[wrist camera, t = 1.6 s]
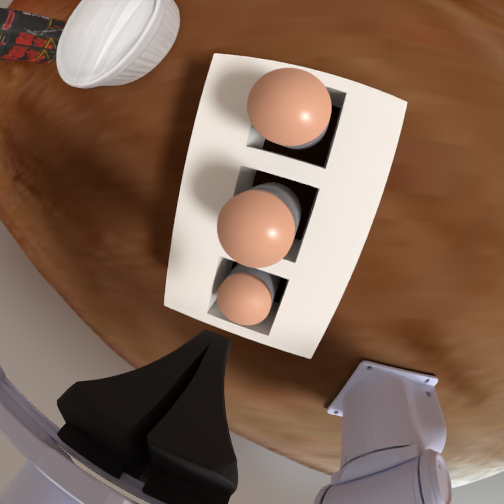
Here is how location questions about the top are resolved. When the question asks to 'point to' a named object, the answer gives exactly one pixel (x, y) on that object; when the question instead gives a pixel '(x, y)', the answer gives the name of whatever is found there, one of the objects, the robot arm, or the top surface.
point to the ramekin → (115, 41)
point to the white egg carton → (323, 178)
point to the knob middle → (259, 224)
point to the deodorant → (29, 36)
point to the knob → (290, 108)
